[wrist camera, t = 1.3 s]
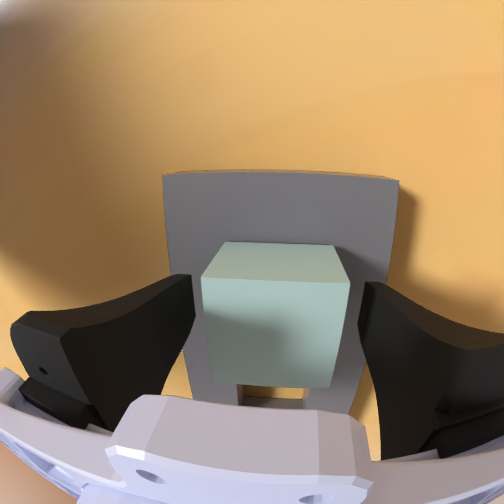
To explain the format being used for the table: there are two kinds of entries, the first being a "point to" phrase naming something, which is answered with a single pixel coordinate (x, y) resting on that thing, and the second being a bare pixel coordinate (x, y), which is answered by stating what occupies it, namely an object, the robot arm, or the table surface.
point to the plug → (274, 313)
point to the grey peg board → (281, 231)
